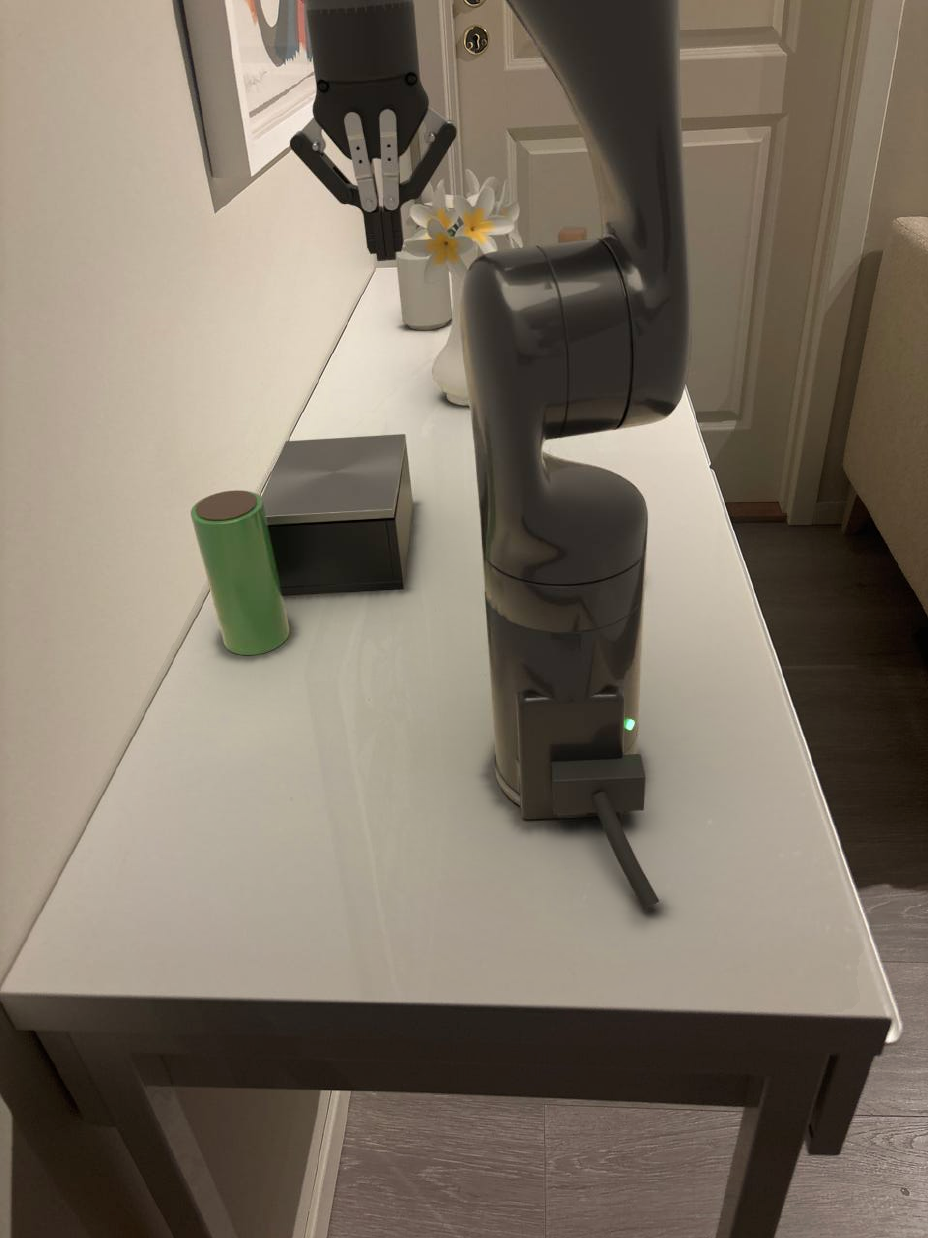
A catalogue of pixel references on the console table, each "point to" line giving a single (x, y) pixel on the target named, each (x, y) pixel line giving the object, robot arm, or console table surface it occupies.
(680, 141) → the robot arm
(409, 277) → the can
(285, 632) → the green cylinder
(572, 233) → the wooden block
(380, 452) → the lid
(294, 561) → the dark grey open box
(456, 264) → the flower vase
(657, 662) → the console table surface
